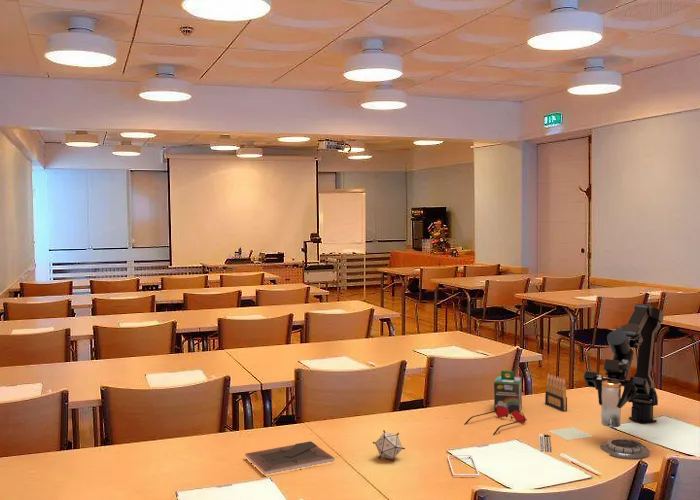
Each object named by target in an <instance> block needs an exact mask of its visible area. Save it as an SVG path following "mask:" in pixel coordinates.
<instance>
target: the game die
mask: <svg viewBox="0 0 700 500" xmlns="http://www.w3.org/2000/svg"><path fill="white" fill-rule="evenodd" d="M382 432H383V433H382V434H381V436H380V437H379V438H377V440H376V441H373V442H371V443H372V444H373V445H374V444H375V447H376V449H377V451H378V455H379V456H378V459H381V458H385V459H390V460H392V462H395V459H396V457H397V456H398V454H399V453H400V452H401V451H402V450H405V449H406V448H405V447H403V445H402V444H401V441H400V439H399V435H400V432H397V433H390V432H386V430H385V429H383V431H382Z"/></svg>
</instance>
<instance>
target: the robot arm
mask: <svg viewBox="0 0 700 500" xmlns="http://www.w3.org/2000/svg"><path fill="white" fill-rule="evenodd" d="M663 322H664V312H663V311H662V310H661V309H660V308H656V307H653V305H650V304H645V303H643V304H642V303H637V304H635V305H634V311H633V312H632V314H631V315H630V317H629V319H628V321H627V323H626V324H624V325H621V326H620V327H616V328H615V330H612V331H610V332H609V333H608V334H607V336H606V339H607V343H608V345H609V348H610V351H611V353H613V355H612V359H608V358H605V359H604V364H603V371H605V376H602V375H600V373H599V371H593V370H586V371H584V374H583V377H582V378H583V379H584V381H585V384H586V386H587V387H589V388H593V389H594V388H595V390H597V395H598V396H597V397H598V403H599V404H598V405H599V406H601V400H602V381H604V380H613V381H618V382H620V383H621V387H623V391H622V393H621V399H620V402H619V408H620V409H621V410H622V408H623V407H624V406H625V405H626V403H632V405H631V410H630V411H631V413H630V414H631V416H629V417H628V419H629V420H632V421H634V422H637V423H639V424H649V423H656V422H657V419H654V407H655V406H658V405H659V400H658V398H659V397H658V394H657V391H656V389H655V382H654V380H653V379H652V376H651V370H652V361H653V360H652V359H653V352H654V344H655V335H656V333H657V332H658V331H659V330H660V329H661V325H662V323H663ZM633 349H638V352H637V361H636V369H635V371H636V372H635V374H633V376H630V379H629V375H631V367H632V363H633V360H634V356H635V353H634V352H635V351H634V350H633ZM606 376H607V377H606ZM628 379H629V380H628Z"/></svg>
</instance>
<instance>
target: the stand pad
mask: <svg viewBox="0 0 700 500" xmlns="http://www.w3.org/2000/svg"><path fill="white" fill-rule="evenodd" d="M548 432H549V433H551V434H554V435H555V436H557V437H559V438H562V439H564V440H566V441H573V440H579V439H587V438H592V437H594V436H593V435H592V434H589V433H586V432H584V431H583V430H580V429H578V428H576V427H565V428H559V429H552V430H548Z"/></svg>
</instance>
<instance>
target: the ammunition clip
mask: <svg viewBox="0 0 700 500" xmlns="http://www.w3.org/2000/svg"><path fill="white" fill-rule="evenodd" d="M546 379H547V380H546V390H545V397H544V398H545V399H544V404H545V406H548V405H549V407H550V406H551V407H550V408H553V409H556V410H558V411H560V412H563V413H565V412H568V396H567V389H566V380H565V378H562V377H559V376H556V375H555V374H554V375H553V374H551V375H550V373H549V372H548V373H547V377H546Z"/></svg>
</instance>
